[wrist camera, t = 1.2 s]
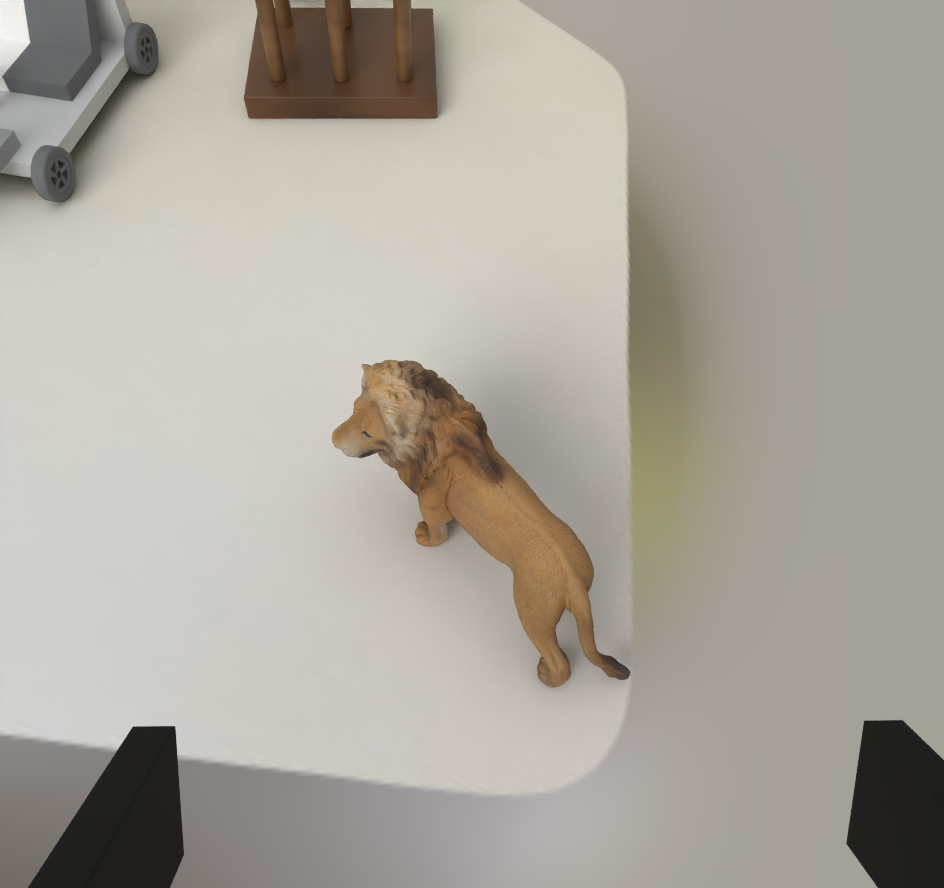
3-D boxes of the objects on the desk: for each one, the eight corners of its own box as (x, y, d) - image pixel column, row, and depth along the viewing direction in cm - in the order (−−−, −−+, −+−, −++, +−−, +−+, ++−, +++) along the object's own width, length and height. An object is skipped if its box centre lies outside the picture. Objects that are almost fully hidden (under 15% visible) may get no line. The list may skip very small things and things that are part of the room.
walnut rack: (432, 29, 56) (432, -123, 48) (436, 118, 51) (436, -35, 43) (262, 28, 56) (232, -126, 47) (248, 118, 50) (212, -37, 42)
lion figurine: (332, 505, 36) (304, 391, 28) (413, 433, 38) (406, 309, 31) (589, 728, 31) (637, 663, 24) (664, 631, 34) (730, 542, 26)
